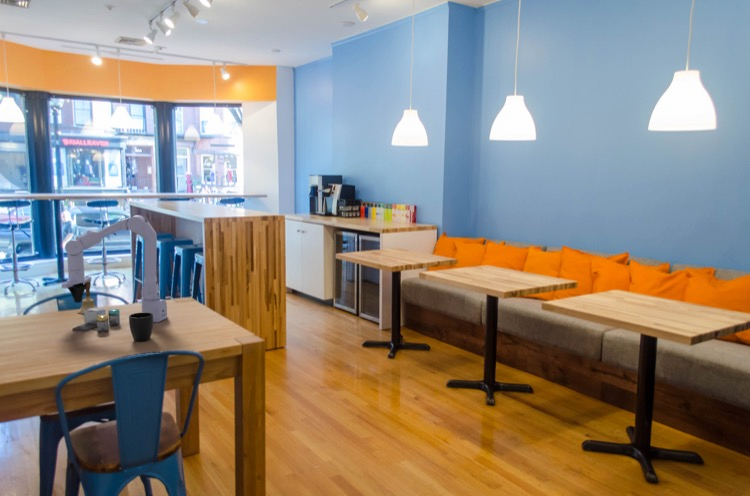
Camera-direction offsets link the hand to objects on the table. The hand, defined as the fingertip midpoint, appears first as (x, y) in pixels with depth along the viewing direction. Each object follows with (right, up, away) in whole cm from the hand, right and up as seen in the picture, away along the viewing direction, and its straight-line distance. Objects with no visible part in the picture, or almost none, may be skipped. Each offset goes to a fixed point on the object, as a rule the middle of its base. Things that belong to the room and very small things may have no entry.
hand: (78, 302), depth 224 cm
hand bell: (-6, -6, +19) cm, 21 cm away
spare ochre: (+15, -10, -9) cm, 20 cm away
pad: (+6, -10, -6) cm, 13 cm away
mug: (+34, -12, -17) cm, 39 cm away
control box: (+7, -9, 0) cm, 11 cm away
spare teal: (+15, -9, 0) cm, 17 cm away
